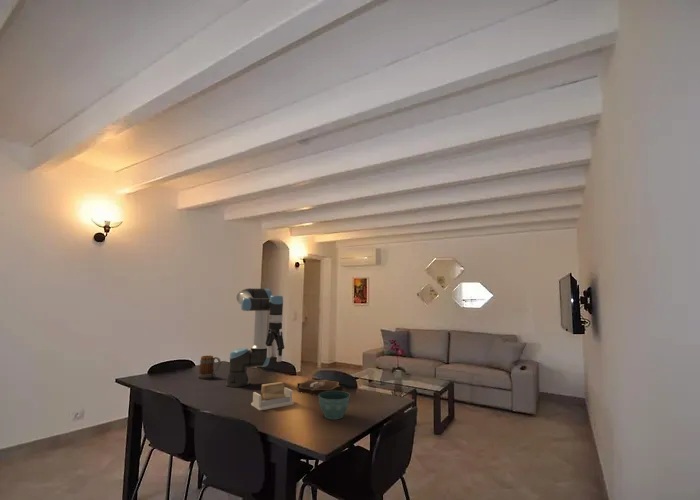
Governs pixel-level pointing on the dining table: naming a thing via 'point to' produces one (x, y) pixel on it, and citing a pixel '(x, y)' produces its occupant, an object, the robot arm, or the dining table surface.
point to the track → (272, 401)
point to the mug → (208, 367)
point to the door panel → (272, 391)
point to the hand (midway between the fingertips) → (274, 359)
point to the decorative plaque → (318, 386)
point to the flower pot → (334, 403)
